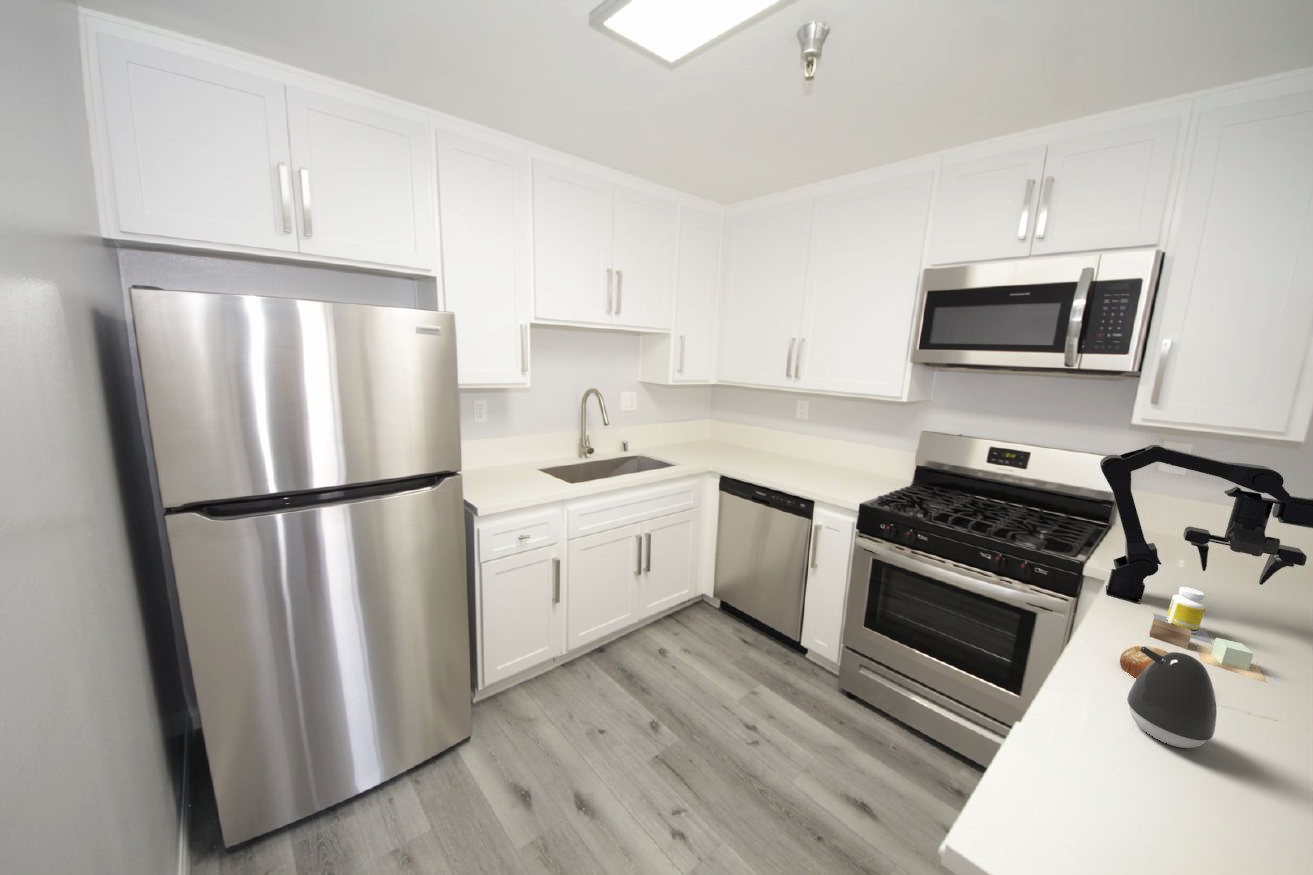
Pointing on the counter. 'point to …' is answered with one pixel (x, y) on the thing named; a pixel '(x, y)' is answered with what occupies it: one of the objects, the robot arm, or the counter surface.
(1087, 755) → the counter surface
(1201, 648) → the cork coaster
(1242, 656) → the sage cube
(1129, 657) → the bread roll
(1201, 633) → the slate coaster
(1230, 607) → the counter surface
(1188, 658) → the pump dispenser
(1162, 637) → the walnut block
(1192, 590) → the supplement bottle
